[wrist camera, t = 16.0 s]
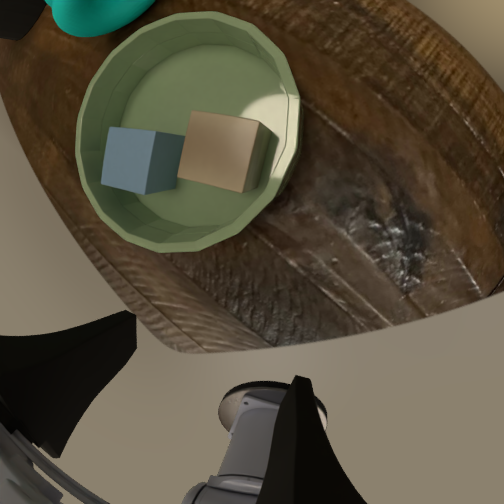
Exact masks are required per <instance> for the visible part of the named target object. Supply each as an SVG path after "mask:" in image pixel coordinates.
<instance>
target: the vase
mask: <svg viewBox="0 0 504 504" xmlns="http://www.w3.org/2000/svg"><path fill="white" fill-rule="evenodd" d="M45 5H46V2H45V0H0V38H3V39H11V40H19V39H21V38H22V37H23V36H24V35H25V34H26V33H27V32H28V31H29V30H30V29H31V27H32V26H33V25H34V23H35V22H36V20H37V19H38V17H39V16H40V14H41V12H42V11H43V9H44V7H45Z"/></svg>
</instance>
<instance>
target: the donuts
mask: <svg viewBox="0 0 504 504" xmlns="http://www.w3.org/2000/svg"><path fill="white" fill-rule="evenodd" d="M45 2H46V3H47V4H48V5H49V6H50V7H52V13H53V17H54V20H55V22H56V23H57V25H58V26H59V27H60V28H61V29H62V30H63V31H65V32H66V33H68V34H71V35H74V36H78V37H93V36H99V35H104V34H107V33H110V32H113V31H115V30H117V29H120V28H122V27H124V26H125V25H127V24H129V23H130V22H132V21H133V20H135V19H136V18H138V17H139V16H140V15H142V14H143V13H144V12H145V11H146V10H147V9H148V8H149V7H150V6H151V5H152V4H153V3H154V2H155V0H45Z"/></svg>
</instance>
